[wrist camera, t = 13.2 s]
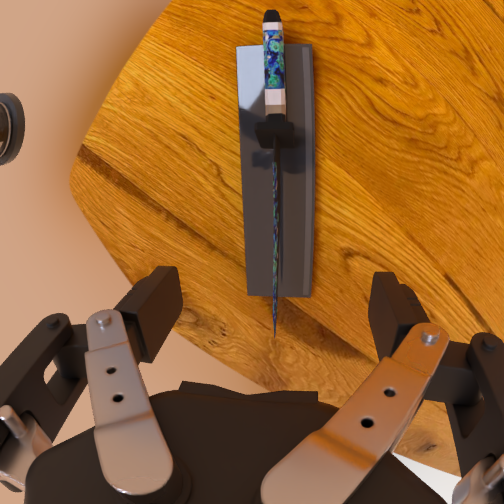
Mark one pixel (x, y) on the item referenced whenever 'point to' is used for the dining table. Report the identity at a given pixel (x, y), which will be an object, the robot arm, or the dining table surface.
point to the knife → (274, 122)
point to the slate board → (291, 175)
